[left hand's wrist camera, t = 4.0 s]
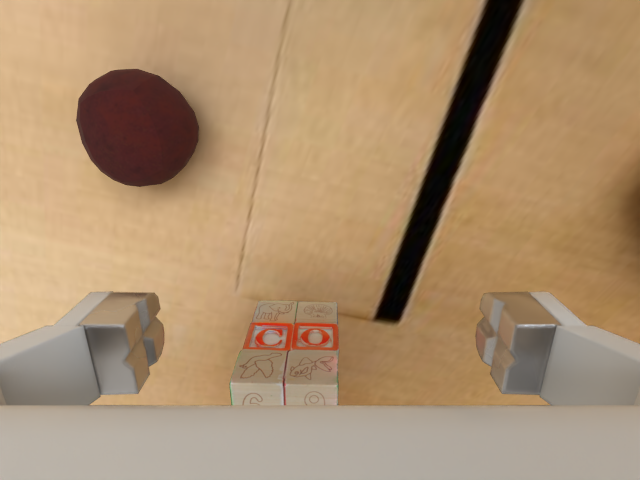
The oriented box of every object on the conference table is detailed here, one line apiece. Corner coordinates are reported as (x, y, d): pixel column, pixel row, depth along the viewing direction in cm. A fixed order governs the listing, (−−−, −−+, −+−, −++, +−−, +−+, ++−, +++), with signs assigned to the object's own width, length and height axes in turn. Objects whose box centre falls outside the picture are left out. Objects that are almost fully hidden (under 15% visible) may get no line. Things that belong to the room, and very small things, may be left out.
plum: (137, 184, 33) (90, 209, 26) (93, 84, 30) (28, 85, 23) (223, 160, 32) (197, 180, 25) (186, 56, 29) (145, 48, 23)
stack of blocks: (256, 297, 31) (214, 424, 19) (338, 299, 31) (345, 428, 19) (264, 494, 39) (238, 668, 27) (330, 496, 39) (331, 671, 27)
